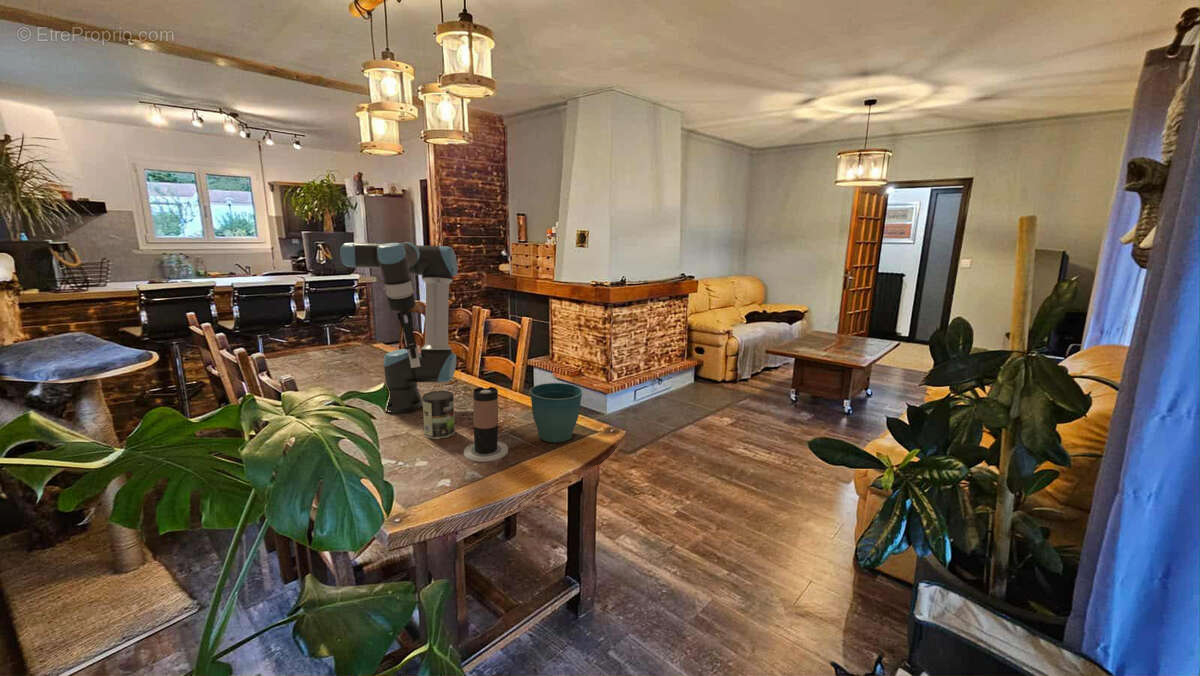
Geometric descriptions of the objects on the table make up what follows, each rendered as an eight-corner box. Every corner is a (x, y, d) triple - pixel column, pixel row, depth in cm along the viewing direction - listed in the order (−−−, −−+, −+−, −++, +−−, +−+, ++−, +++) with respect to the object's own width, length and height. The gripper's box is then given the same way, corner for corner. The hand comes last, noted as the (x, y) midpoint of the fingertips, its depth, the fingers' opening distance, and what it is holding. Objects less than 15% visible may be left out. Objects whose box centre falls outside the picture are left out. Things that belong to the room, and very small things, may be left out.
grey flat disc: (461, 446, 157) (461, 443, 157) (503, 440, 163) (503, 438, 162) (466, 464, 145) (466, 462, 144) (512, 458, 150) (512, 455, 150)
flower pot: (553, 422, 180) (553, 379, 176) (591, 434, 170) (592, 389, 166) (519, 437, 165) (518, 391, 162) (558, 452, 155) (559, 403, 152)
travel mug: (485, 456, 148) (485, 395, 144) (468, 450, 152) (467, 390, 148) (503, 448, 155) (503, 389, 151) (486, 442, 159) (485, 385, 155)
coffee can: (460, 429, 171) (459, 391, 168) (445, 440, 161) (444, 401, 158) (434, 426, 173) (432, 389, 170) (418, 437, 163) (416, 398, 160)
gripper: (385, 287, 153) (398, 347, 161) (389, 308, 132) (404, 376, 140) (409, 283, 156) (421, 343, 164) (417, 304, 135) (430, 371, 143)
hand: (413, 358), depth 152 cm, fingers open, 13 cm apart
